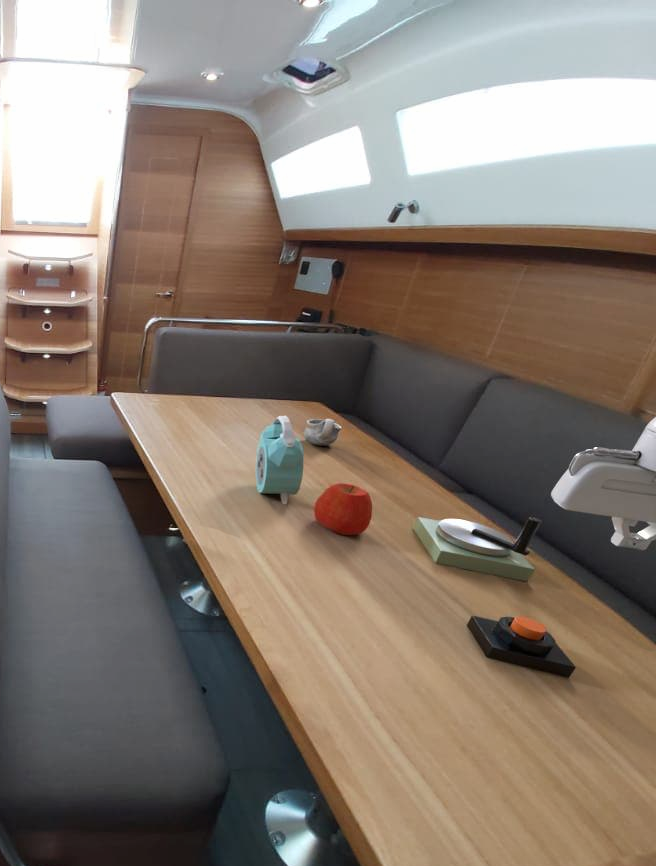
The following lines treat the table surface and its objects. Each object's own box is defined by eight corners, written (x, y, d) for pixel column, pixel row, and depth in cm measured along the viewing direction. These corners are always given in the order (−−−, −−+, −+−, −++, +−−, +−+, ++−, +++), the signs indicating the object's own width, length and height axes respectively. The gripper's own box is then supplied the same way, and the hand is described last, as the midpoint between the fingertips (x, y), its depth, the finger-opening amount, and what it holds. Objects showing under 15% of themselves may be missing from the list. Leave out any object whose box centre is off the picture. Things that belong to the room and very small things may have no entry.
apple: (304, 527, 112) (318, 485, 107) (316, 510, 119) (330, 470, 115) (359, 546, 105) (377, 502, 101) (368, 527, 113) (385, 485, 108)
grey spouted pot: (329, 440, 165) (339, 411, 160) (342, 454, 153) (353, 423, 149) (297, 437, 166) (306, 408, 162) (308, 450, 155) (318, 420, 151)
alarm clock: (298, 511, 119) (324, 432, 110) (256, 504, 121) (277, 427, 112) (283, 481, 134) (304, 410, 125) (245, 476, 136) (264, 405, 127)
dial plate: (493, 543, 109) (500, 531, 107) (527, 581, 96) (535, 568, 95) (412, 528, 113) (417, 516, 112) (435, 562, 101) (441, 550, 99)
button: (533, 628, 78) (539, 620, 78) (545, 643, 75) (551, 635, 75) (505, 622, 80) (510, 613, 79) (516, 637, 76) (521, 628, 76)
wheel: (538, 562, 96) (561, 523, 93) (482, 562, 95) (503, 524, 92) (472, 524, 109) (490, 489, 105) (422, 524, 108) (438, 489, 104)
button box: (540, 642, 81) (553, 623, 79) (568, 678, 74) (583, 658, 72) (466, 625, 84) (476, 606, 82) (486, 657, 77) (498, 638, 75)
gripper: (595, 453, 66) (545, 541, 72) (820, 479, 59) (744, 574, 65) (568, 437, 71) (524, 521, 77) (771, 460, 64) (706, 550, 70)
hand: (626, 546), depth 71 cm, fingers closed
